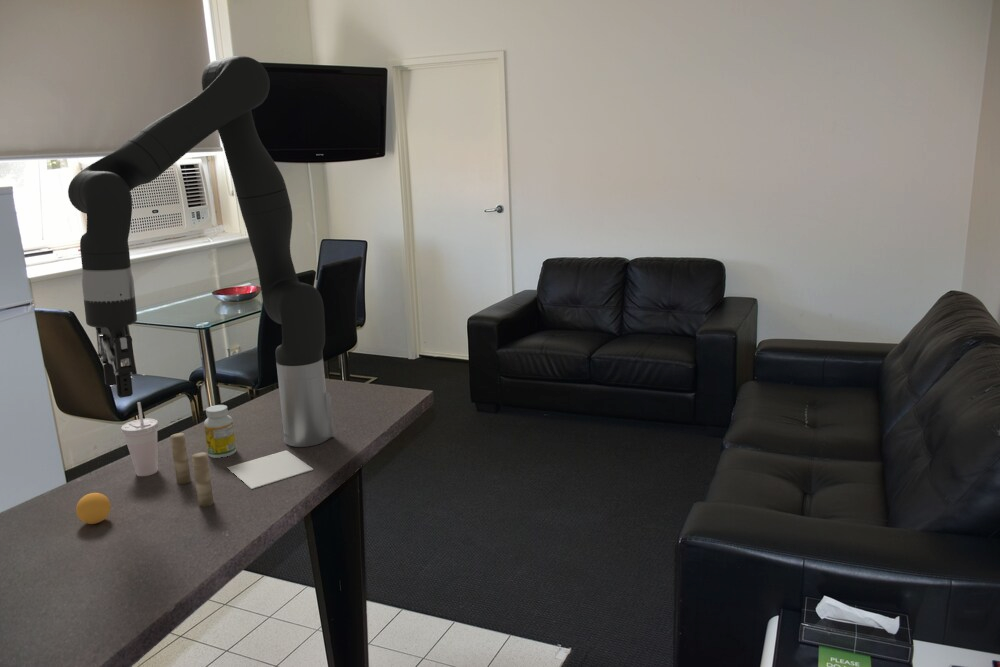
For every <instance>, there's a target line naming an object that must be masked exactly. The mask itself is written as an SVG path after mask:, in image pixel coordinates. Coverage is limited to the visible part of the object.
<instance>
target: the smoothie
mask: <svg viewBox="0 0 1000 667" xmlns="http://www.w3.org/2000/svg"><path fill="white" fill-rule="evenodd" d="M136 404H137V410H138V416H139V417H138V418H139V419H134V420H131V421H128V422H126V423H124V424H123V425H122V426H121V428H120V429H121V434H122V435H123V436H124V439H125V443H126V445H127V448H128V452H129V455H130V458H131V461H132V464H133V467H134V471H135V474H136V475H137V476H138V477H148V476H151V475H154V474H156V473H157V472H158V470H159V468H158V466H159V465H158V461H159V460H158V453H159V452H158V429H159V427H160V425H159V421H158V420H157V419H155V418H143V417H144V416H143V410H142V404H141V401H139V402H138V401H137V403H136Z"/></svg>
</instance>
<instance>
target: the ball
mask: <svg viewBox="0 0 1000 667" xmlns="http://www.w3.org/2000/svg"><path fill="white" fill-rule="evenodd" d="M111 508H112V507H111V501H110V500H109V498H108V497H107V495H104V494H102V493H100V492H90V493H88V494H85V495H83V496H82V497H81V498H80V499H79V500H78V502H77V504H76V506H75V513H76V516H77V518H78V519H79V520H80V521H81V522H83V523H85V524H87V525H88V524H89V525H93V524H94V525H95V524H98V523H101V522H102V521H104V520H105V519H107V517H108V516H109V514H110V512H111Z"/></svg>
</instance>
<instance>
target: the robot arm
mask: <svg viewBox="0 0 1000 667" xmlns="http://www.w3.org/2000/svg"><path fill="white" fill-rule="evenodd" d="M270 83H271V82H270V77H269V75H268V72H267V70H266V68H265V67H264V66H263V64H262V63H261V62H259V61H258V60H256V59H255V58H252V57H250V56H245V55H237V56H236V55H234V56H228V57H224V58H219V59H216V60H212V61H211V62H209V63H208V64H207V65H206V66H205V67H204V69H203V72H202V75H201V87H202V88H201V89H202V92H200V93H199V94H198V95H196V96H195V97H193V98H192V99H191V100H189V101H188V102H186V103H184V104H182V105H181V106H179V107H178V108H175V109H174V110H172V111H170V112H169V113H166V114H164V115H163V116H161V117H159V118H158V119H156V120H154V121H153V122H151V123H150V124H148V125H147V126H145V127H144V128H142V129H141V130H140V131H138V132H137V133H136V134H135V135H133V136H132V137H131V138H130V139H128V140H127V141H125V142H124V143H123V144H122V145H121V146H120V147H119V148H117V149H116V150H114V151H113V152H111V153H109V154H107V155H105V156H103V157H101V158H100V159H98V160H97V161H95V162H93V163H91V164H90V165H88V166H86V167H85V168H83V169H82V170H81V171H80V172H78V173H77V174H76V175H75V176H73V178H72V179H71V181H70V183H69V186H68V190H67V195H68V200H69V201H70V204H71V205H72V206H73V207H74V208H75V209H76V210H77V211H79V212H81V213H83V214H86V232H85V233H84V234H82V235H81V238H80V240H79V241H80V242H79V249H80V259H81V267H82V279H81V286H82V287H81V288H82V295H83V296H82V297H83V305H84V306H83V307H84V314H85V322H86V325H87V326H89V327H91V328H95V331H96V332H95V334H96V343H97V356H98V358H99V359H100V362H101V364H103V365H102V368H103V376H104V384H105V385H106V386H108V387H110V386H116V394H117V397H118V398H121V399H122V398H128V397H132V395H133V394H134V393H133V380H132V375H133V373H135V372H136V366H135V359H134V358H135V357H134V348H133V338H132V336H131V335H129V334H126V330H125V327H126V326H130V325H133V324H136V322H137V321H138V315H137V304H136V303H137V302H136V293H135V281H134V277H133V273H132V267H131V257H130V256H131V255H130V246H129V236H130V230H131V225H132V224H131V222H132V214H133V199H132V194H131V191H132V190H134V189H135V188H137V187H139V186H142V185H146V184H149V183H151V182H153V181H154V180H156V179H157V178H158V177H159V176H161V175H162V174H163V173H165V172H166V171H167V170H168V169H169V168H171V167H172V166H173V165H174V164H176V163H177V162H178V161H179V160H180V159H181V158H182V157H184V156H185V155H186V154H187V153H189V152H190V151H191V150H193V148H195V147H197V145H198V144H200V143H201V142H202V141H204V140H206V139H207V138H208V137H209V136H210V135H212V134H214V133H215V132H216V131H217V133H218V135H219V137H220V140H221V144H222V148H223V150H224V153H225V154H224V155H225V158H226V163H227V165H228V169H229V172H230V176H231V179H232V182H233V186H234V190H235V195H236V198H237V203H238V205H239V210H240V214H241V217H242V219H243V222H244V225H245V229H246V233H247V236H248V239H249V243H250V246H251V250H252V252H253V255H254V256H253V257H254V260H255V263H256V267H257V274H258V279H259V285H260V292H261V298H262V301H263V302H262V305H263V307H264V310H265V312H266V314H267V316H268V317H269V318H270V319H271V320H272V321H273V322H275V323H277V324H279V325H281V337H282V339H281V344H280V345H278V346H277V347H275V348H276V349H275V353H274V354H275V363H276V364H275V365H276V370H277V371H276V372H277V381H278V392H279V401H280V410H281V411H280V412H281V420H282V428H283V439H284V444H286V445H288V446H292V447H297V448H298V447H299V448H303V447H304V448H305V447H306V448H307V447H312V446H313V447H314V446H317V445H319V444H323V443H325V442H326V441H327V440H329V439H331V438H333V437H335V435H334V433H335V432H334V423H333V422H334V421H333V412H332V411H333V410H332V399H331V394H330V393H329V392H328V391H327V387H326V377H325V375H326V374H325V366H324V353H323V352H324V351H323V350H324V347H325V344H326V323H325V321H326V320H325V319H326V318H325V316H326V315H325V306H324V300H323V298H322V295H321V293H320V292H319V290H318V289H317V288H316V287H315V286H313V285H311V284H310V283H305V282H301V281H299V277H298V275H297V273H296V270H295V266H294V262H293V259H292V254H291V237H292V229H293V210H292V205H291V201H290V197H289V193H288V189H287V185H286V182H285V179H284V177H283V174H282V172H281V171H280V169H279V167H278V165H277V164H276V162H275V160H274V159H273V158H272V156H271V155H270V153H269V152H268V150H267V148H266V147H265V146H264V144H263V143H262V140H261V139H260V137H259V133H258V131H257V128H256V124H255V121H254V116H253V112H252V111H253V110H254V109H256V108H257V107H259V106H260V105H262V104H263V103H264V102H265V100H266V99H267V98H268V95H269V91H270V89H271V88H270V86H271V84H270ZM122 363H124V364H125V365H122Z"/></svg>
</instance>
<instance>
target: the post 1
mask: <svg viewBox="0 0 1000 667" xmlns="http://www.w3.org/2000/svg"><path fill="white" fill-rule="evenodd" d="M169 437H170V442H171V443H170V445H171V449H172V457H173V463H174V471H175V477H176V484H178V485H184V484H188V483H190V482H192V478H191V471H190V470H191V469H190V464H189V456H188V451H187V449H188V448H187V442H186V434H185V433H183V432H179V433H178V432H177V433H174V434H172V435H171V434H170V436H169Z"/></svg>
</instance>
